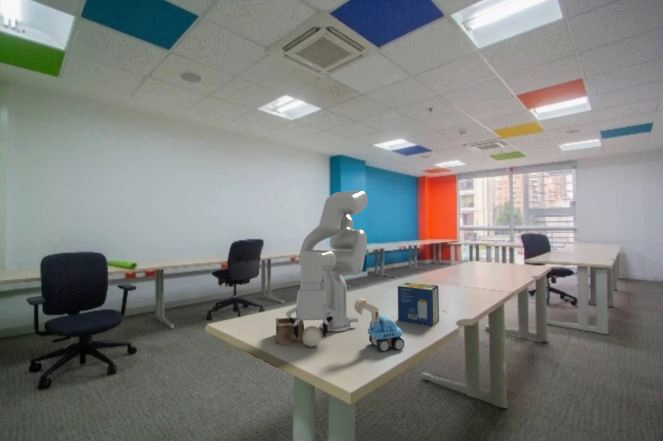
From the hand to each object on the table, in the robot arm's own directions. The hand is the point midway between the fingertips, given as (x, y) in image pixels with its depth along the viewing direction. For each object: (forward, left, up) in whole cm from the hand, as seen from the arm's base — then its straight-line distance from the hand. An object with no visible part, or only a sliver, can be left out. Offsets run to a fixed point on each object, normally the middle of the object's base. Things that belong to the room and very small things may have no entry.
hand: (310, 336), depth 107 cm
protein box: (-51, -21, -4) cm, 55 cm away
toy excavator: (-23, +6, -4) cm, 24 cm away
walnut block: (+7, -9, -4) cm, 12 cm away
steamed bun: (-1, -1, -4) cm, 4 cm away
